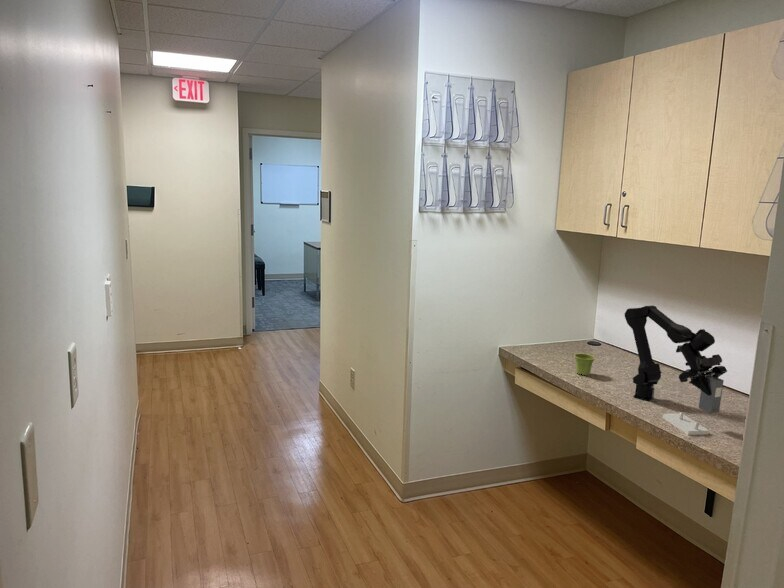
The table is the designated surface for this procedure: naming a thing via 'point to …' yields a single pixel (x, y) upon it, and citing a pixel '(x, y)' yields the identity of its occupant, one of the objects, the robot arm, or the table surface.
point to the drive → (712, 401)
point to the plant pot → (583, 363)
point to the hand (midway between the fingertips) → (714, 394)
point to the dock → (685, 424)
